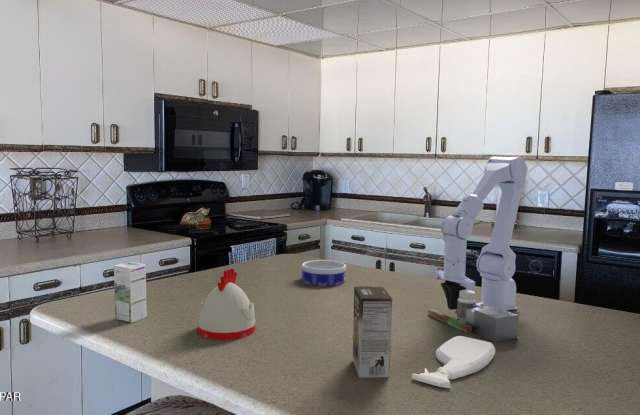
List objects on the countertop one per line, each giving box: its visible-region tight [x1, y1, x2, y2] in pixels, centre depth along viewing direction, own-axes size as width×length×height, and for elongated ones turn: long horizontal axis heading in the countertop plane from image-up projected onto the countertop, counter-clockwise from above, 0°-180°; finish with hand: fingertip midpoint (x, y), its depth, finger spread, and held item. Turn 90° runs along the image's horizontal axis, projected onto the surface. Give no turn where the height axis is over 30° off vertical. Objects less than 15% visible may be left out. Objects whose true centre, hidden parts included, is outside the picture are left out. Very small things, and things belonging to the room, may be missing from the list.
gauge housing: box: [472, 307, 519, 343], centre depth 128 cm, size 7×8×6 cm
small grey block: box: [466, 302, 490, 332], centre depth 131 cm, size 7×7×7 cm
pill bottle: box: [456, 289, 477, 324], centre depth 137 cm, size 5×5×8 cm
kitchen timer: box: [197, 268, 256, 341], centre depth 128 cm, size 14×14×15 cm
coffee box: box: [352, 285, 393, 379], centre depth 106 cm, size 9×6×16 cm
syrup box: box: [113, 261, 148, 324], centre depth 134 cm, size 6×6×14 cm
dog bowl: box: [301, 259, 347, 287], centre depth 181 cm, size 15×15×6 cm
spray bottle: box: [411, 335, 496, 389], centre depth 109 cm, size 3×11×24 cm
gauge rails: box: [427, 308, 473, 334], centre depth 139 cm, size 11×16×2 cm
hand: (452, 308), depth 143 cm, fingers closed
